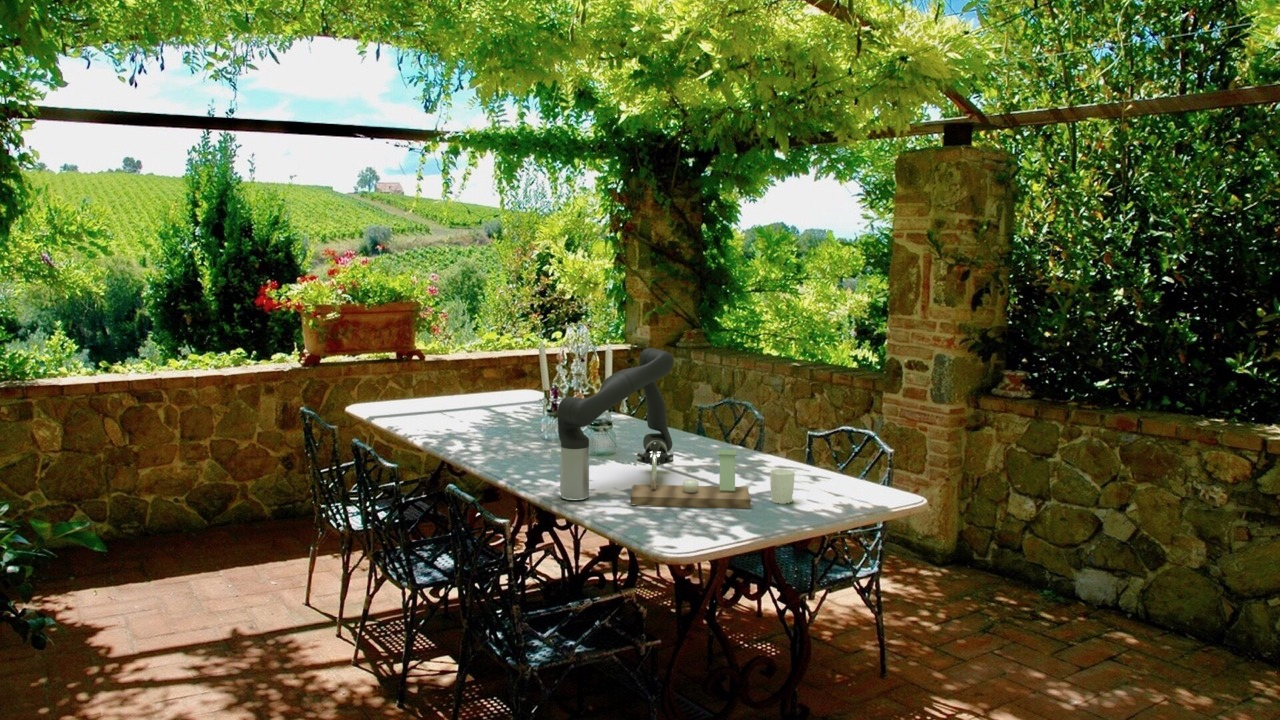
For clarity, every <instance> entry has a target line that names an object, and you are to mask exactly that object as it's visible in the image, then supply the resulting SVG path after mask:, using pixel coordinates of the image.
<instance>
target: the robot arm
mask: <svg viewBox="0 0 1280 720" xmlns="http://www.w3.org/2000/svg"><path fill="white" fill-rule="evenodd" d="M674 364H675V360H674V357H673V355H672V354H671V353H670V352H668V351H666V350H661V349H657V348H653V347H647V348H644V349H643V350H642V351H641V352H640V354H639V358H638V366H634V367H629V368H624V369H621V370H618V371H616V372H614V373H613V374H611V375H609V376H608V377H607V378H605V379H604V380H603V382H602V383H601V384H600V388H599V391H598V392H596V393H594V394H592V395H591V396H589V397H586V398H581V397H574V396H565V397H564V398H563V399H561V401H560V402H559V404H558V407H557V431H558V438H559V441H560V469H559V470H560V471H559V473H560V474H559V482H560V483H559V485H560V486H559V488H560V489H559V493H561V496H563V497H566V498H572V499H580V498H586V497H588V496H589V497H590V439H589V437H588V436H587V435H585V433H584V432H582V430H581V428H584V427H587V426H589V425H591V424H592V423H593V422H594V421H596V420H597V418H599V417H600V416H602V415H603V414H604V413H605V412H607V411H608V410H609V409H611V408H613V407H614V406H615V405H618V404H619V403H620V402H622V401H624V400H626V399H627V398H629V397H630V396H631V395H633V394H635V393H636V392H638V391H639V390H640V389H643V391H644V397H645V403H646V418H647V421H646V422H647V424H646V425H647V427H648V429H650V430H653V431H657V433H648V434H645V436H644V437H643V441H642V445H643V449H644V453H640V452H638V453H637V454H636V461H638V462H639V463H643V464H646V465H648V464H649V465H650V466H652V450H651V449H650V444H651V443H652V442H658V443H659V445H660V448H659V450H657V466H661V465H666V464H669V463H673V462H674V454H673V453H670V454H668V453H669V452H670V451H671V450H672V448H673V439H672V437H671V434H670V430H669V428H668V421H667V406H666V403H665V399H664V398H663V395H662V393H661V392H660V389H659V387H658V384H657V381H658V380H660V379H662V378H665V377H666V376H667V375H668V374H670V372H671V371H672V370H673V367H674ZM658 432H659V433H658ZM561 496H560V497H561Z"/></svg>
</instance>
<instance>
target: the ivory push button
mask: <svg viewBox="0 0 1280 720" xmlns="http://www.w3.org/2000/svg"><path fill="white" fill-rule="evenodd" d="M682 485H683V491H684V492H687V493H695V492H698V486H699V480H697V479H684V480H682Z"/></svg>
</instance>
